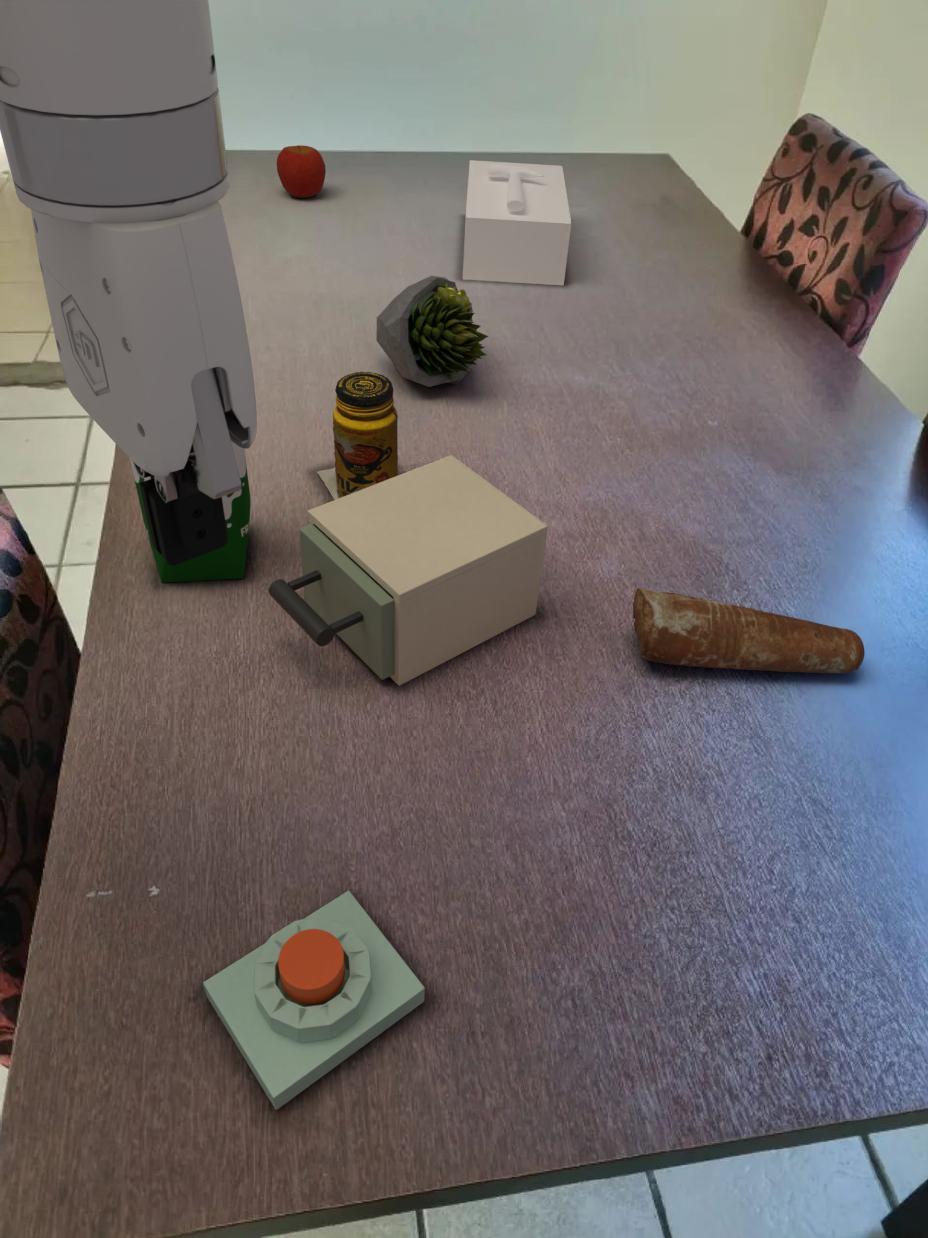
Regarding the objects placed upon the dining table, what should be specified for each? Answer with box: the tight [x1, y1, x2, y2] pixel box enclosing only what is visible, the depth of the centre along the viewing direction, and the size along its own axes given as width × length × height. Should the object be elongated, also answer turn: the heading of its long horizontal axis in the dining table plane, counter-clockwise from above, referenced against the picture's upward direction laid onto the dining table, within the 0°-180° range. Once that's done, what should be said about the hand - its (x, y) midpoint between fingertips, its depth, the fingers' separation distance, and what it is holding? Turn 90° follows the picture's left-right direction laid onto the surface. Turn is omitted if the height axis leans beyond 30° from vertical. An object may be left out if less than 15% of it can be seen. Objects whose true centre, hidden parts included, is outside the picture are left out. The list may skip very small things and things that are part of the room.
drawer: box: [268, 524, 394, 681], centre depth 76 cm, size 18×11×8 cm, turn 129°
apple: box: [276, 144, 327, 199], centre depth 153 cm, size 8×8×8 cm
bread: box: [632, 587, 866, 674], centre depth 76 cm, size 6×19×6 cm, turn 84°
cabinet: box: [307, 454, 548, 687], centre depth 78 cm, size 15×13×10 cm
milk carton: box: [129, 441, 252, 583], centre depth 78 cm, size 9×9×20 cm
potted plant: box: [376, 275, 489, 388], centre depth 108 cm, size 12×13×15 cm
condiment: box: [316, 371, 399, 501], centre depth 90 cm, size 7×8×12 cm
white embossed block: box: [462, 159, 572, 287], centre depth 139 cm, size 14×25×11 cm, turn 178°
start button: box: [278, 929, 345, 1004], centre depth 53 cm, size 4×4×2 cm
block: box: [202, 890, 426, 1111], centre depth 54 cm, size 10×8×4 cm
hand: (191, 547), depth 46 cm, fingers closed
